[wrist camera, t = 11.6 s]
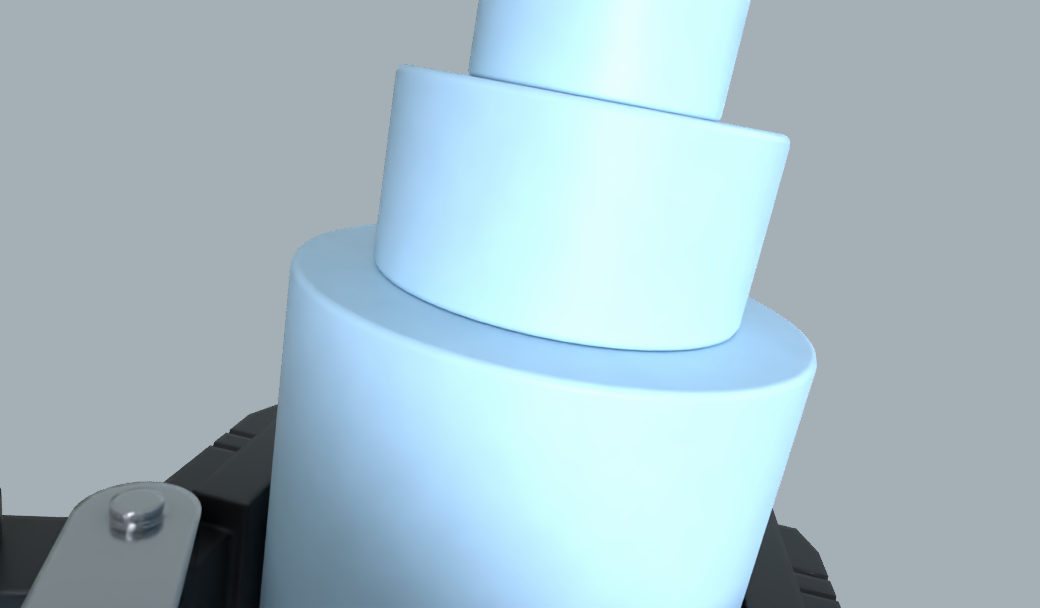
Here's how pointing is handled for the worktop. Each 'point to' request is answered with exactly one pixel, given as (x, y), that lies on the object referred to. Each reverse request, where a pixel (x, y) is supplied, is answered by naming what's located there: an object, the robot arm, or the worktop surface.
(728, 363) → the bottle
